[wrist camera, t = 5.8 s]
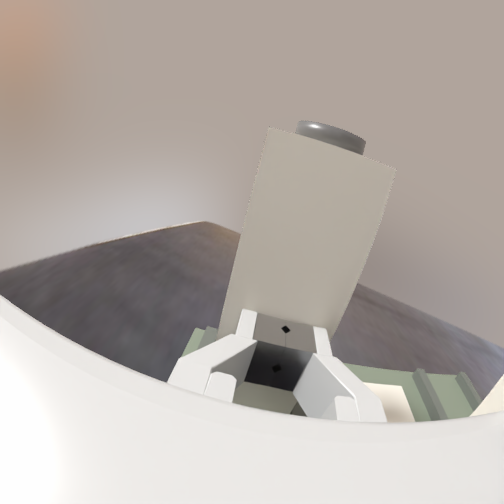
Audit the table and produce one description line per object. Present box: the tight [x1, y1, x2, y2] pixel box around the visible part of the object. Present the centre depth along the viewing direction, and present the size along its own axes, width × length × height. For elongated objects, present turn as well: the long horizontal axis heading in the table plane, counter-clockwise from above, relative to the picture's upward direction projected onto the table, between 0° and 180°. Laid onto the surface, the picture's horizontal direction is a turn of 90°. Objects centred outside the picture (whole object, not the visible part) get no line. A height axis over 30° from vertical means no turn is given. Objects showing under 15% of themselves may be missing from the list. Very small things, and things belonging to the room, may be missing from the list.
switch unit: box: [182, 326, 483, 423], centre depth 12 cm, size 11×24×2 cm, turn 85°
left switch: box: [216, 121, 396, 414], centre depth 10 cm, size 3×4×13 cm
